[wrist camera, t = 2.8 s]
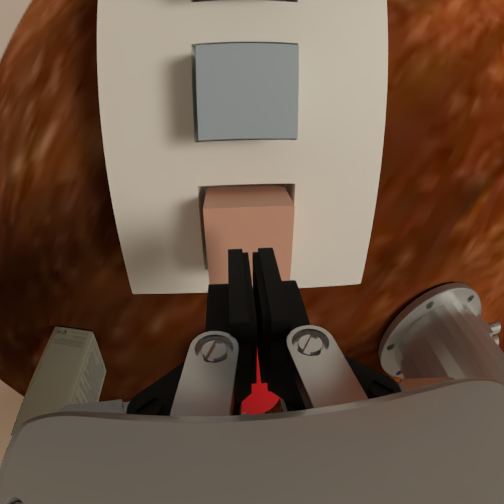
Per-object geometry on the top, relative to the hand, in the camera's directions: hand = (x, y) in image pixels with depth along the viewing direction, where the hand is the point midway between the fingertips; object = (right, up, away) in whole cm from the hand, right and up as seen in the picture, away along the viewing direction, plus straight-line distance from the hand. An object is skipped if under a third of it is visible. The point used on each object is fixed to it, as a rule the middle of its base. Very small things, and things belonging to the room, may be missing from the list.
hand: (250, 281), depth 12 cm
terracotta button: (0, +3, +5) cm, 6 cm away
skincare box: (-16, -8, +14) cm, 23 cm away
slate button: (0, +9, +2) cm, 9 cm away
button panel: (0, +10, +4) cm, 11 cm away
